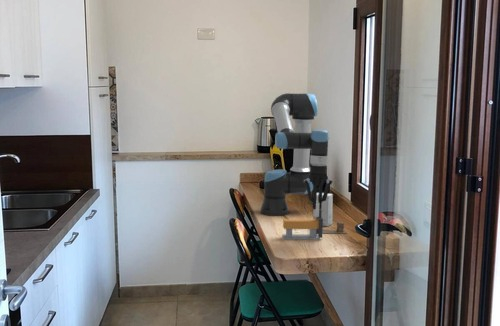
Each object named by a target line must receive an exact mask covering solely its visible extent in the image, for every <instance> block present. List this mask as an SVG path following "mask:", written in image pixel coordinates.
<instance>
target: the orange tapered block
mask: <svg viewBox="0 0 500 326" xmlns="http://www.w3.org/2000/svg"><path fill="white" fill-rule="evenodd" d="M282 227H283V229H284V230H286V229H292V230H310V229H319V220H318V219H313V218H310V219H309V218H305V219H304V218H300V219H299V218H296V219H294V218H288V219H287V218H283V221H282Z"/></svg>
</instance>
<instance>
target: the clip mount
mask: <svg viewBox="0 0 500 326" xmlns="http://www.w3.org/2000/svg"><path fill="white" fill-rule="evenodd" d="M282 237H283V239H284V240H287V241H288V240H320V239H321V238H318V234H316V229H309V233H308V234H306V233H305V234H302V233H300V234H293V229H285V234H282Z"/></svg>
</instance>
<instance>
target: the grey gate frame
mask: <svg viewBox="0 0 500 326" xmlns="http://www.w3.org/2000/svg"><path fill="white" fill-rule="evenodd" d="M321 213H322V210H321V209H319V217H316V219H318V220H319V229H316V234H317V235H318V238H320V239H322V238H323V234H322V230H323V229H324V228H323V227H324V226H323V218H322V217H321Z"/></svg>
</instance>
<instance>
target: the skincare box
mask: <svg viewBox="0 0 500 326" xmlns="http://www.w3.org/2000/svg"><path fill="white" fill-rule="evenodd" d="M318 194H319V192H317V197H316V201H318ZM323 194H324V192H322V198H323ZM333 196H334V194H333V193H328V195H327V198H326V201H323V202H322V207H321V210H322V213H321V217H322V218H323V227H331V226H332V225H333V212H334V211H333V204H334V203H333V201H334V200H333ZM312 210H313V211H312V213H313V214H312V217H313V218H312V219H316V217H315V209H313V208H312Z"/></svg>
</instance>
